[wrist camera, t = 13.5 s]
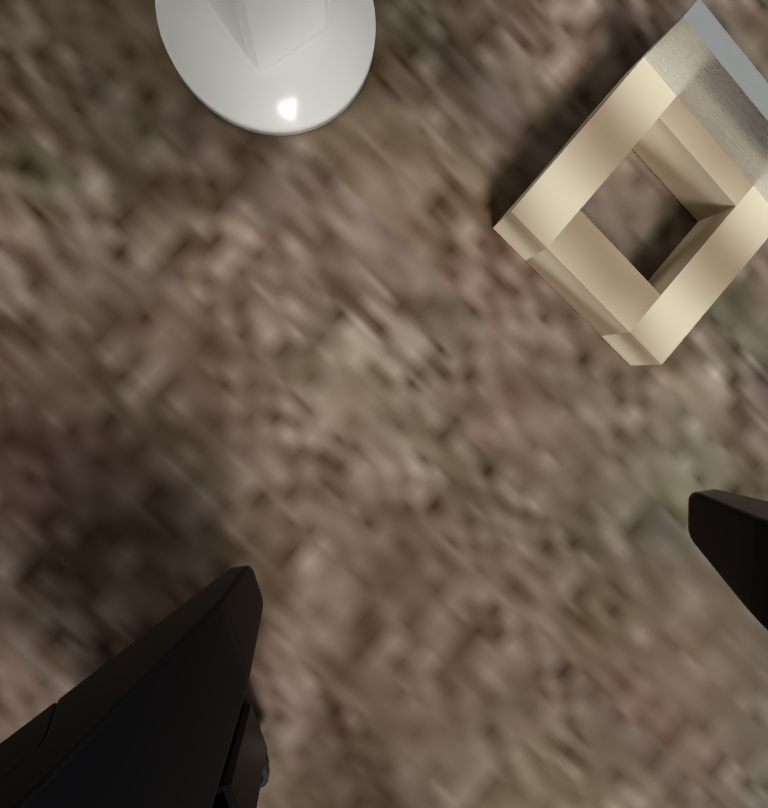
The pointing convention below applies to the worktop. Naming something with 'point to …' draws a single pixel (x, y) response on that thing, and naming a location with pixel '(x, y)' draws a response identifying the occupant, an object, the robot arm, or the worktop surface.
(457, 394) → the worktop surface
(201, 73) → the coaster
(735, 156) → the square wooden frame
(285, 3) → the pepper shaker
